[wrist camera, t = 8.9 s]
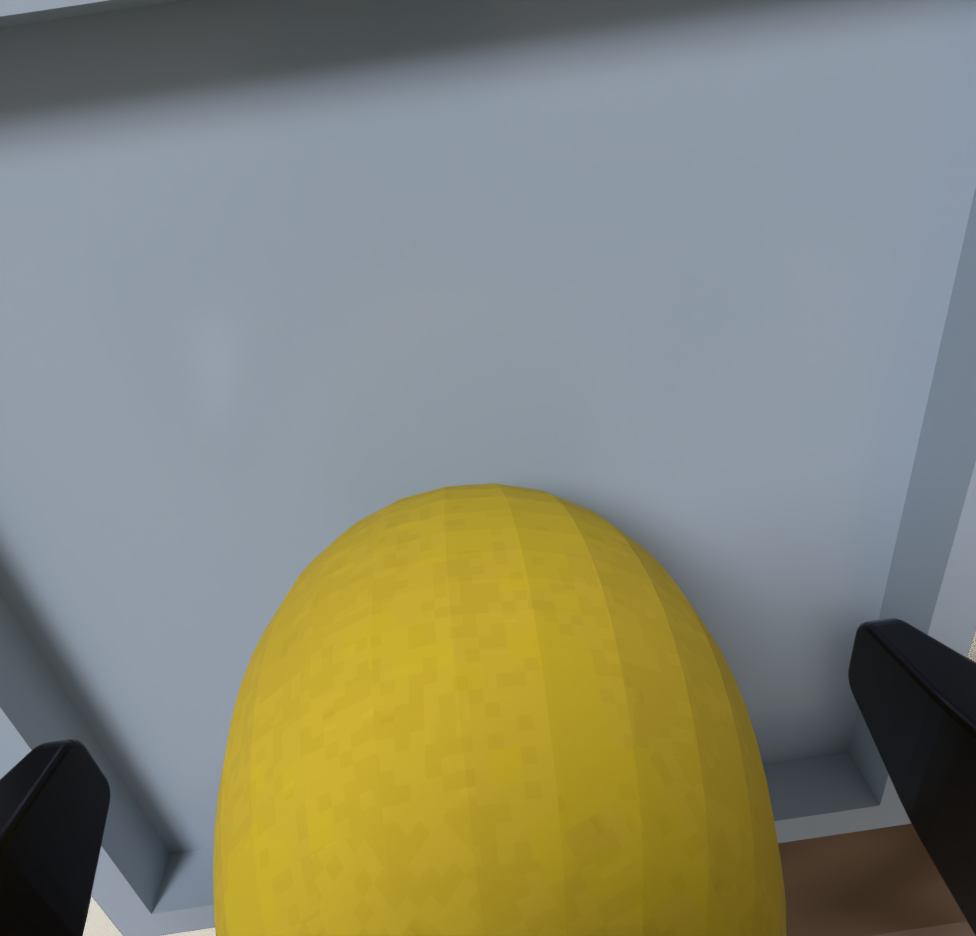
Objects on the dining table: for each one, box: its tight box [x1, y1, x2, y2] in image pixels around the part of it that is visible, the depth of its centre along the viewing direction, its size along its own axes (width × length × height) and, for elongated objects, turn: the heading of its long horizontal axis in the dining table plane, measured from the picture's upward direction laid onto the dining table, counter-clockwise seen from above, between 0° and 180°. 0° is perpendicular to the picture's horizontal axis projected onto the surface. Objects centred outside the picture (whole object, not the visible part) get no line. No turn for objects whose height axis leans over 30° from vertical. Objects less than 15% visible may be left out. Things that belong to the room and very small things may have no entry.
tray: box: [0, 0, 976, 936], centre depth 11 cm, size 16×16×2 cm
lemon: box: [213, 483, 787, 936], centre depth 8 cm, size 6×6×8 cm
